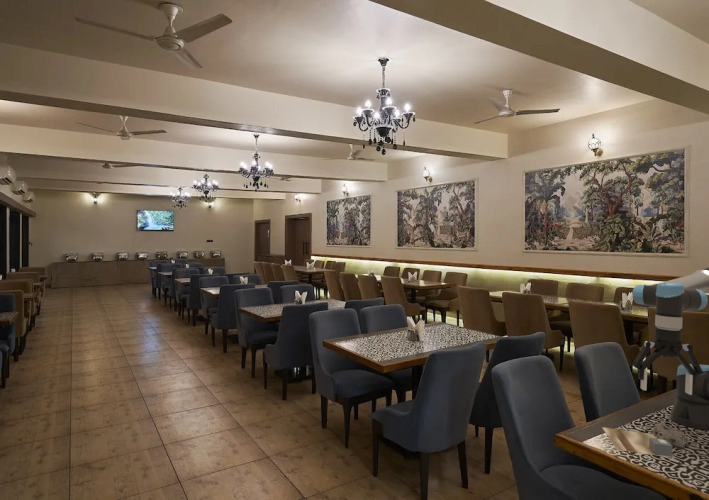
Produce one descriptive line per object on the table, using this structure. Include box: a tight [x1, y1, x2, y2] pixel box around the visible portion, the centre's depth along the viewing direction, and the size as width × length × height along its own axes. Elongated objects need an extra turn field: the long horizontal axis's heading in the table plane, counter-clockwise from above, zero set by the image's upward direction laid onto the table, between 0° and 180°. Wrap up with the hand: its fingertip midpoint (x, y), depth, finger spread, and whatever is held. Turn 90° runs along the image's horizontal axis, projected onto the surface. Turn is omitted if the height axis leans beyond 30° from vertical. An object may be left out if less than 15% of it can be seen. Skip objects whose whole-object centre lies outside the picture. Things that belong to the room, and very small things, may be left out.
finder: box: [649, 438, 674, 458], centre depth 147 cm, size 5×5×4 cm
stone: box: [651, 423, 687, 449], centre depth 157 cm, size 13×6×10 cm
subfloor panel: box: [601, 426, 677, 459], centre depth 155 cm, size 17×20×1 cm
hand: (665, 391), depth 150 cm, fingers open, 13 cm apart
